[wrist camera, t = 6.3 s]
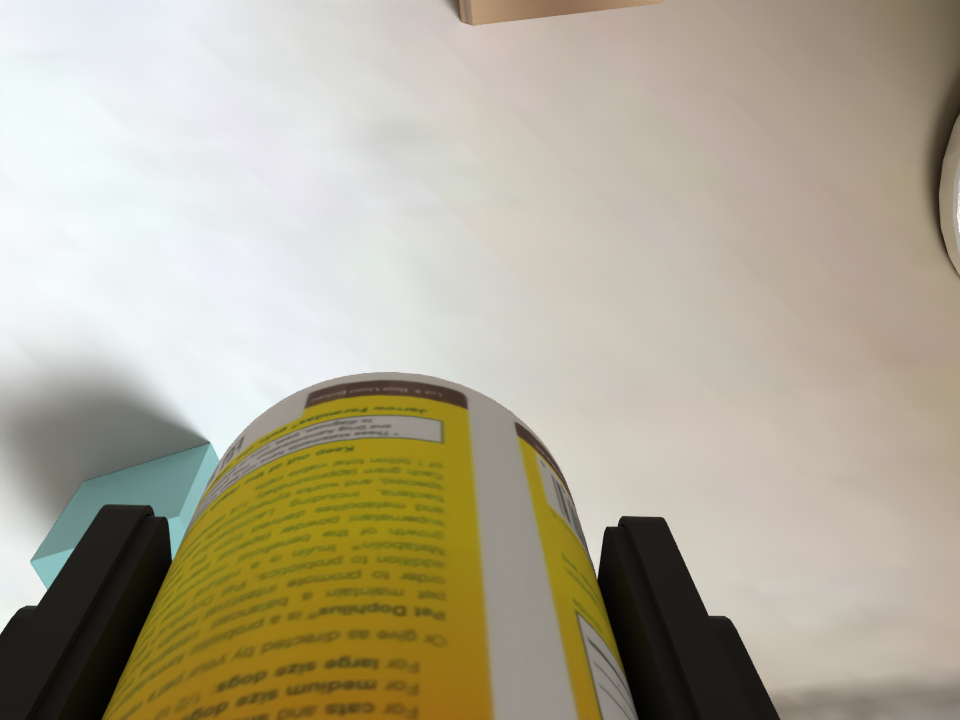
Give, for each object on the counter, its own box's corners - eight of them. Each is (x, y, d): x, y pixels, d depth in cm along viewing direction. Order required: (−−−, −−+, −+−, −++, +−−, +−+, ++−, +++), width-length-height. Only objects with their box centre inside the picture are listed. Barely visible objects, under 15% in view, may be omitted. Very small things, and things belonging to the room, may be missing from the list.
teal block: (211, 441, 32) (178, 516, 27) (263, 548, 34) (241, 635, 29) (83, 480, 32) (29, 561, 27) (142, 585, 34) (101, 677, 29)
